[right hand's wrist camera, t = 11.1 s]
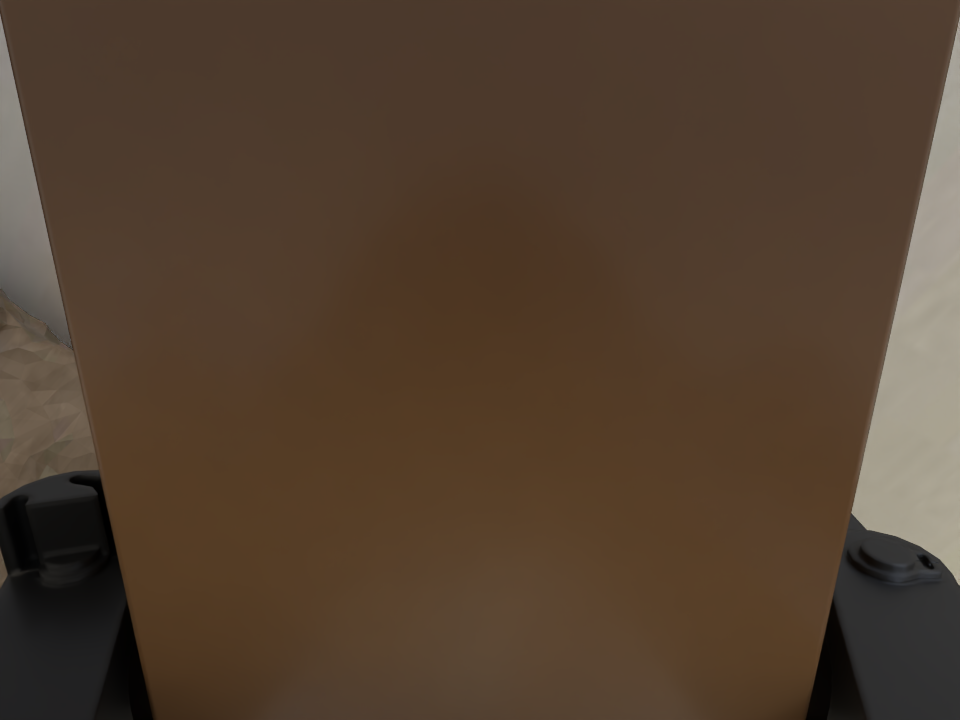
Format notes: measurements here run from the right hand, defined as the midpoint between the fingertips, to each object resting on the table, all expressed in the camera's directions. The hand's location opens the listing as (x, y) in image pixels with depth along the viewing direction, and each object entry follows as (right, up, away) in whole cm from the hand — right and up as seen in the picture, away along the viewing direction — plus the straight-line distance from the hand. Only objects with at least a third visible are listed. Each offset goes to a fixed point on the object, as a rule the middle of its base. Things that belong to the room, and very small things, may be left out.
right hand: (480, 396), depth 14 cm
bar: (0, +10, -3) cm, 11 cm away
